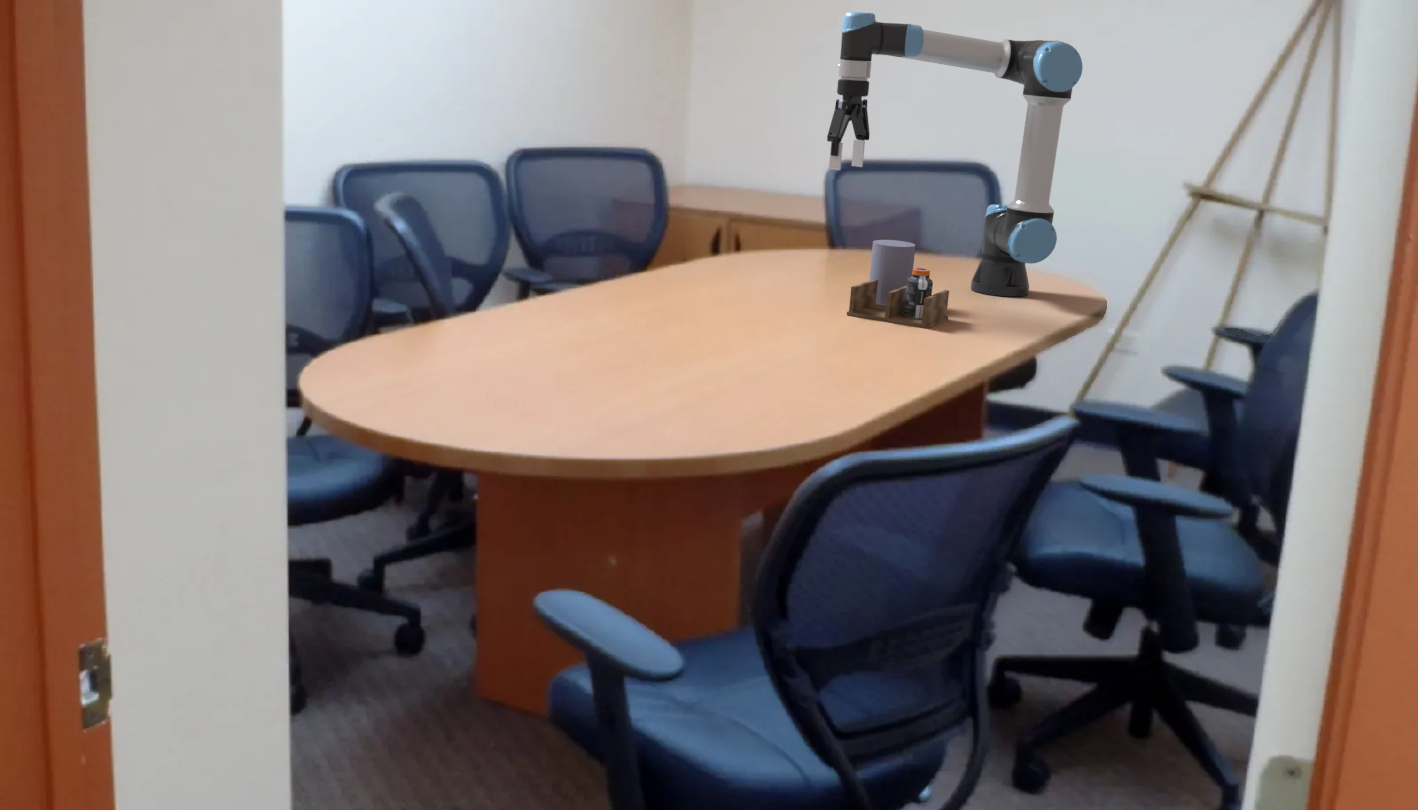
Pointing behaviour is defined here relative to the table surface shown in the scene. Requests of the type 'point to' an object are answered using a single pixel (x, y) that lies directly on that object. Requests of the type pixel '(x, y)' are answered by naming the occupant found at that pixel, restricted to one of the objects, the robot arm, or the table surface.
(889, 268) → the container
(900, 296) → the rack
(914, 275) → the pill bottle
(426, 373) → the table surface
